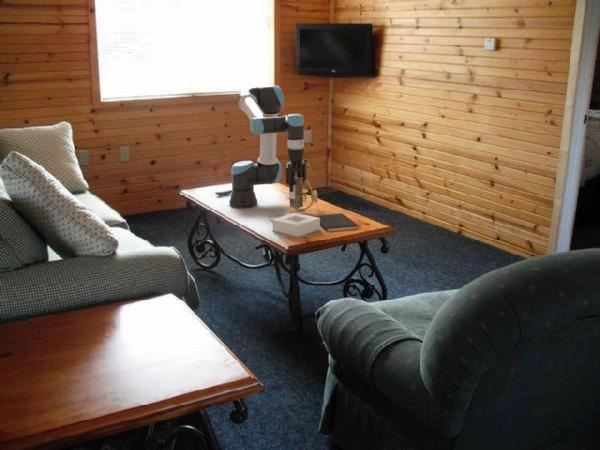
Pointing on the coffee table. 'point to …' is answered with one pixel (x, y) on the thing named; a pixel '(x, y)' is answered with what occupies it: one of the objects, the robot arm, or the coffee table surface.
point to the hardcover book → (336, 222)
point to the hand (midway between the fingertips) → (296, 197)
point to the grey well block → (296, 225)
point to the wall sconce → (314, 195)
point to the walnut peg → (297, 193)
